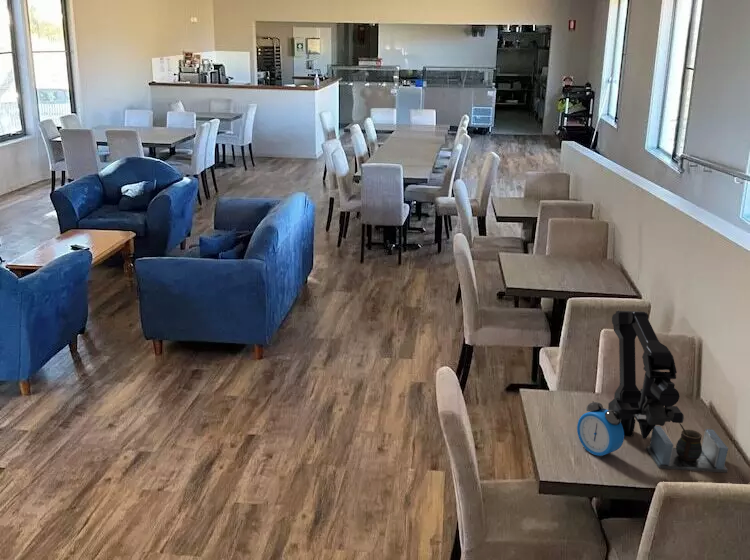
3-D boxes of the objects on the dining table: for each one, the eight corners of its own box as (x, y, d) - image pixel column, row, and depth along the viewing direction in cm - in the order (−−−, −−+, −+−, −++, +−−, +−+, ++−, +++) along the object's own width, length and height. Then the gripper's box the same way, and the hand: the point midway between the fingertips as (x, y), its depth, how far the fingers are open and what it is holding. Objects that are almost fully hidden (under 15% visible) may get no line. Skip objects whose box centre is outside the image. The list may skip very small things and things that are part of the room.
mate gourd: (698, 466, 219) (703, 436, 216) (671, 458, 223) (676, 428, 220) (702, 456, 225) (708, 426, 222) (675, 448, 229) (681, 419, 226)
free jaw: (661, 464, 219) (665, 444, 217) (649, 445, 229) (653, 425, 227) (670, 465, 219) (674, 444, 217) (657, 445, 229) (661, 426, 227)
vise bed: (658, 468, 219) (663, 444, 217) (646, 448, 230) (650, 425, 227) (727, 472, 219) (732, 448, 217) (712, 453, 230) (717, 429, 227)
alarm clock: (573, 444, 230) (580, 400, 225) (587, 439, 233) (593, 395, 229) (608, 464, 220) (615, 418, 215) (621, 459, 223) (629, 413, 219)
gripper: (628, 401, 210) (619, 450, 215) (695, 405, 210) (685, 454, 215) (617, 383, 221) (609, 431, 226) (681, 388, 221) (671, 435, 225)
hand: (643, 438), depth 223 cm, fingers closed
